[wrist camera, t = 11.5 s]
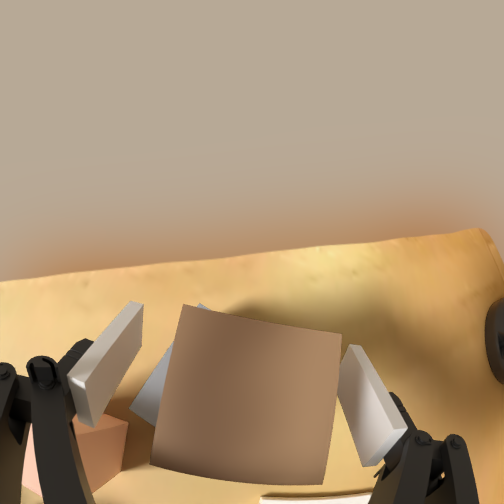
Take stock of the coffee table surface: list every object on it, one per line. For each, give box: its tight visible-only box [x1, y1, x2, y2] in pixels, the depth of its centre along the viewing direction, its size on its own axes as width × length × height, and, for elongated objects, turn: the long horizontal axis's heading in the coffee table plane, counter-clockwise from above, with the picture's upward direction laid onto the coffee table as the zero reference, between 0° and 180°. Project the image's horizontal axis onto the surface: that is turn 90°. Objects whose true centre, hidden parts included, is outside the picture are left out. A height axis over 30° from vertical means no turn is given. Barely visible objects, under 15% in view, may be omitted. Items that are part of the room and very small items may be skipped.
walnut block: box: [149, 304, 342, 485], centre depth 13 cm, size 6×6×12 cm
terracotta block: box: [22, 413, 129, 497], centre depth 13 cm, size 6×6×12 cm
